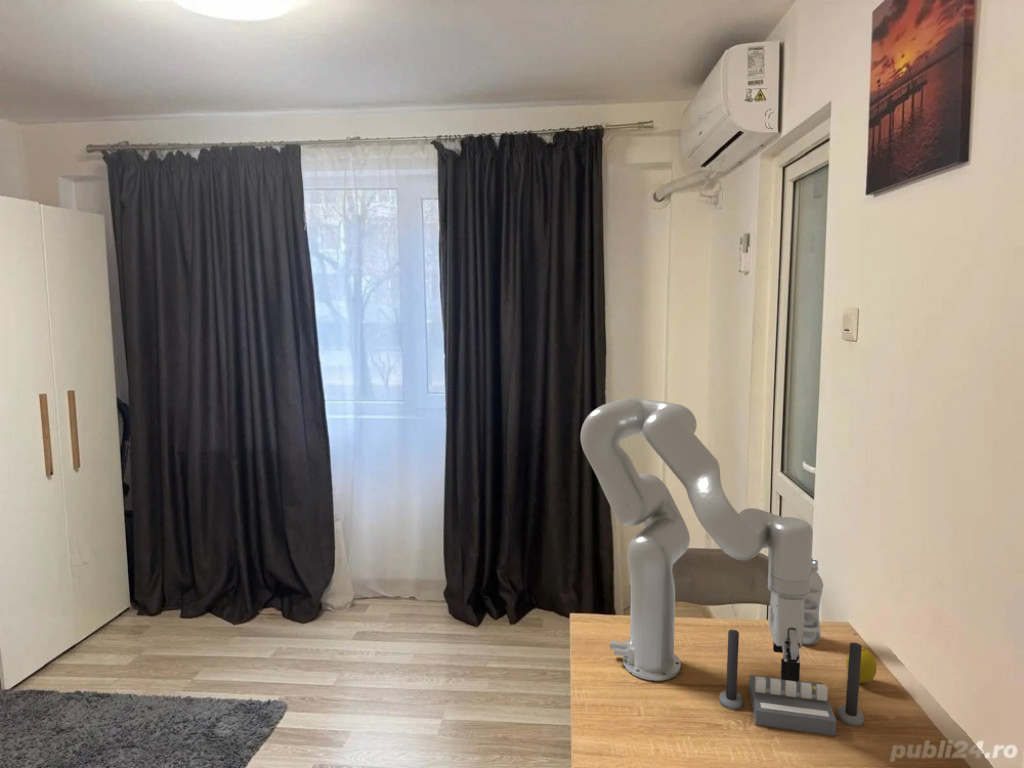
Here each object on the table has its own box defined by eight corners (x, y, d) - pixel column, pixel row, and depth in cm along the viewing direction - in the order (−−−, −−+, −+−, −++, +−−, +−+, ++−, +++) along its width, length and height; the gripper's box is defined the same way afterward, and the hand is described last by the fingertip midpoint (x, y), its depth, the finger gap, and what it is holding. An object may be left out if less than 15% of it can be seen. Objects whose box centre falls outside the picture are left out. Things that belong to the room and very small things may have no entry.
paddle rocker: (755, 692, 127) (755, 679, 127) (754, 689, 128) (754, 676, 128) (827, 701, 124) (828, 688, 124) (826, 698, 125) (826, 685, 125)
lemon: (879, 692, 132) (881, 656, 131) (849, 689, 133) (852, 653, 132) (869, 676, 138) (872, 641, 136) (842, 673, 139) (844, 639, 138)
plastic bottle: (818, 636, 154) (822, 556, 151) (821, 650, 148) (826, 568, 145) (789, 631, 156) (793, 553, 153) (791, 646, 150) (795, 564, 147)
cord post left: (720, 708, 128) (722, 636, 126) (718, 694, 132) (721, 625, 130) (743, 711, 127) (746, 639, 125) (741, 697, 131) (744, 627, 129)
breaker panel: (755, 724, 123) (756, 709, 122) (748, 687, 134) (749, 673, 134) (835, 736, 119) (836, 720, 119) (821, 696, 131) (822, 682, 130)
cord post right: (841, 724, 123) (846, 650, 120) (835, 709, 127) (840, 638, 125) (866, 727, 122) (872, 652, 119) (859, 713, 126) (865, 640, 124)
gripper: (762, 562, 133) (759, 640, 135) (774, 601, 116) (771, 689, 118) (801, 566, 131) (798, 644, 133) (819, 605, 114) (815, 694, 116)
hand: (785, 665), depth 126 cm, fingers open, 9 cm apart
